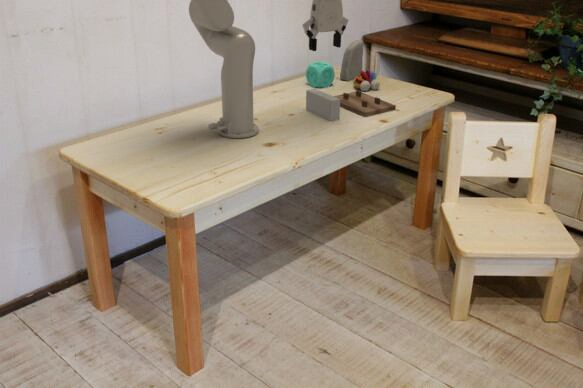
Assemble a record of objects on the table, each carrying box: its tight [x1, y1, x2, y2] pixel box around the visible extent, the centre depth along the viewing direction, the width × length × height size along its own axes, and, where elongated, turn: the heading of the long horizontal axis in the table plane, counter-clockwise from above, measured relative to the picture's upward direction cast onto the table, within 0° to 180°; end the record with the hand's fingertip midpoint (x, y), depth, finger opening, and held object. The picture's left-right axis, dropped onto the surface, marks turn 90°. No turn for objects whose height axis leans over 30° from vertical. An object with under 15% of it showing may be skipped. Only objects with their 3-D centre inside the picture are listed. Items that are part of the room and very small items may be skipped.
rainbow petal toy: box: [352, 69, 381, 92], centre depth 238 cm, size 8×10×7 cm
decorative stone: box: [339, 39, 364, 82], centre depth 249 cm, size 11×6×15 cm, turn 143°
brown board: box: [333, 89, 397, 118], centre depth 221 cm, size 14×20×4 cm
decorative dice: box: [305, 61, 336, 89], centre depth 242 cm, size 8×8×8 cm
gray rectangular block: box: [305, 88, 341, 122], centre depth 211 cm, size 4×14×7 cm, turn 35°
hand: (324, 48), depth 203 cm, fingers open, 9 cm apart
